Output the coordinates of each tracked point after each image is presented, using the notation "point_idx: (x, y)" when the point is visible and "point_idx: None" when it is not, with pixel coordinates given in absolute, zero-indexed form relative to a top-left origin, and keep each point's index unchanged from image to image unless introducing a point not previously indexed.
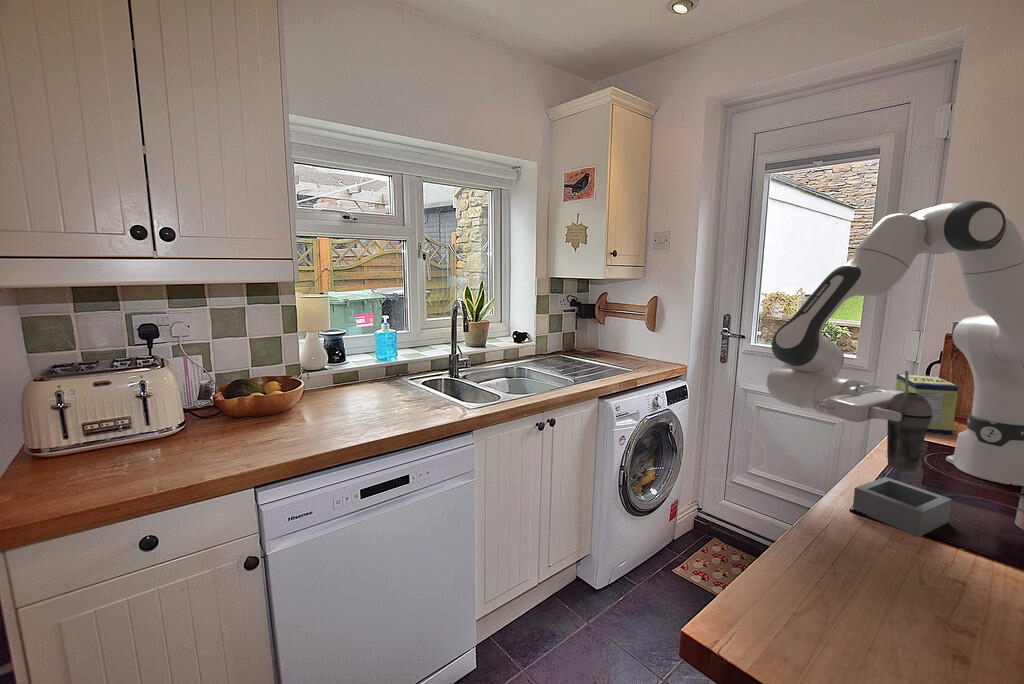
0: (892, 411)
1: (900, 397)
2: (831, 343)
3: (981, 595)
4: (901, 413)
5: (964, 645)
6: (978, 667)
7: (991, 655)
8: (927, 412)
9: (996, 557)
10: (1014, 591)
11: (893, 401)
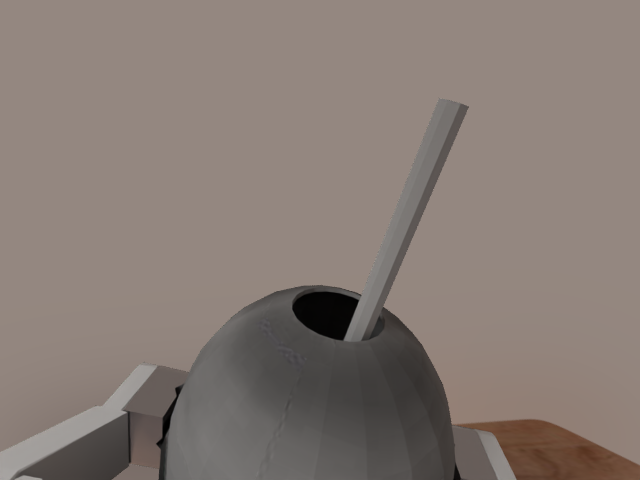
0: (512, 472)
1: (429, 376)
2: None
3: None
4: (466, 428)
5: (565, 454)
6: (576, 440)
7: (544, 434)
8: (343, 335)
9: None
10: None
11: (444, 454)
